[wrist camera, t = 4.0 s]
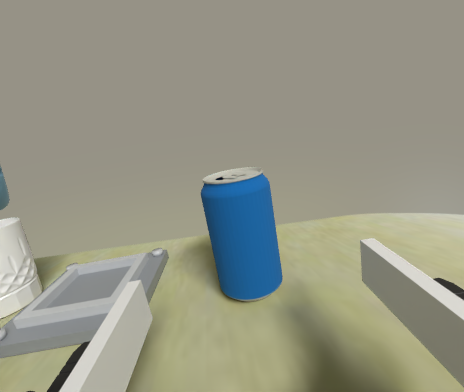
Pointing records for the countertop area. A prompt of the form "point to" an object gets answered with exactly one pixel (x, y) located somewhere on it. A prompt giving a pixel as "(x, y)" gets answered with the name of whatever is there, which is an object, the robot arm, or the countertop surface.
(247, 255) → the beverage can
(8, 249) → the white cup
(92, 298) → the socket plate
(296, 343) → the countertop surface
